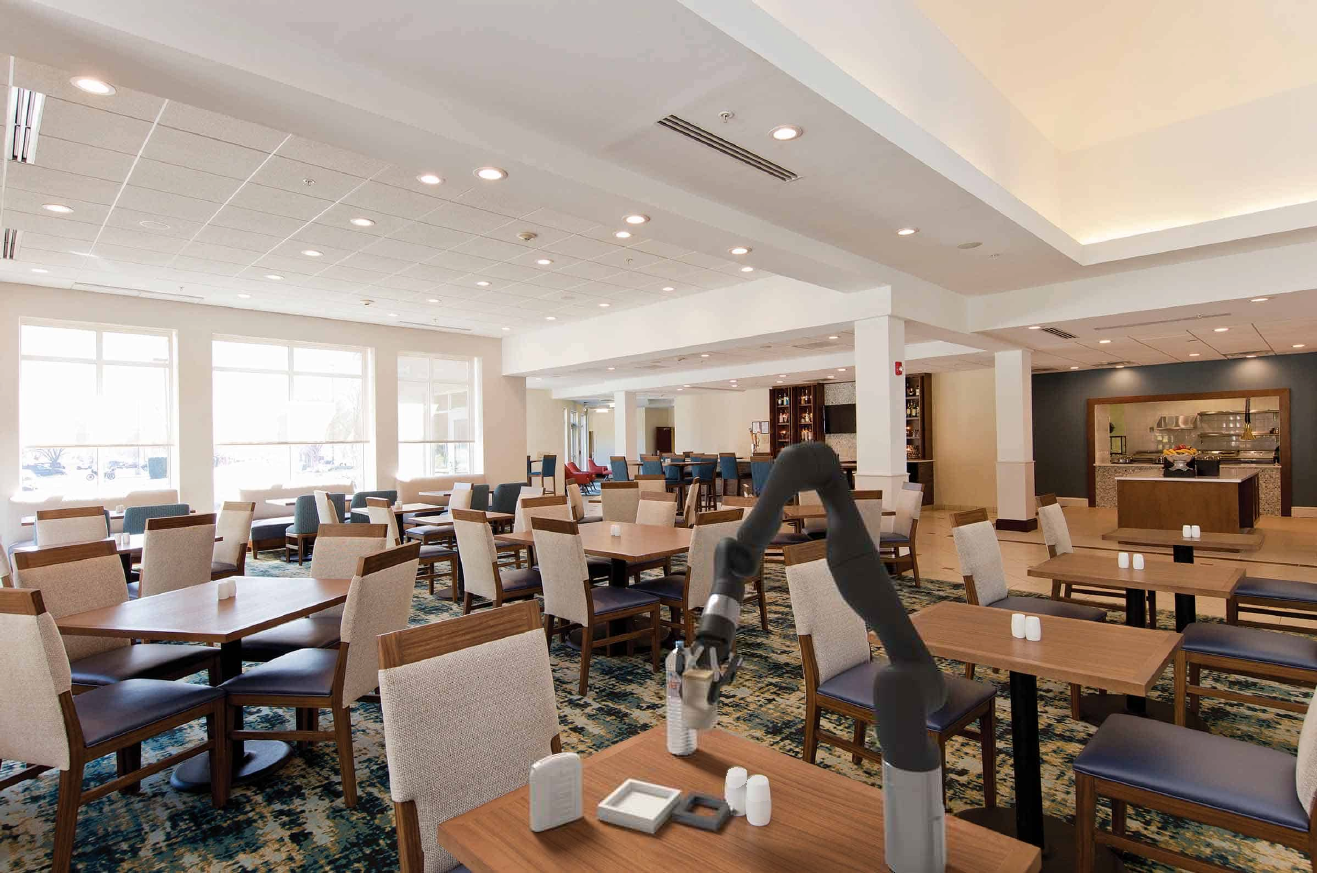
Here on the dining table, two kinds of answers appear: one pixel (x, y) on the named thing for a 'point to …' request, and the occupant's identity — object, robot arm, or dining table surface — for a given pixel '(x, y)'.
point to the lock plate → (712, 824)
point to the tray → (639, 805)
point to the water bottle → (677, 711)
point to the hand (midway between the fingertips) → (696, 700)
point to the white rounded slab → (555, 791)
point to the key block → (698, 700)
